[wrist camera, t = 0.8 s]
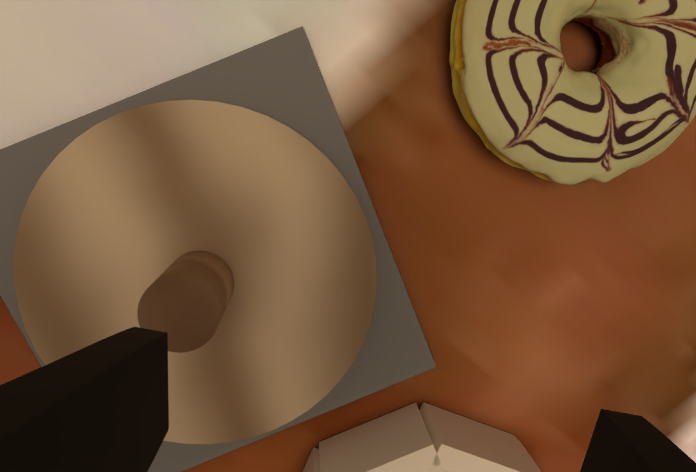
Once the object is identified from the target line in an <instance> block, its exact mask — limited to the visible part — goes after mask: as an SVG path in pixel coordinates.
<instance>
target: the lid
mask: <svg viewBox="0 0 696 472" xmlns="http://www.w3.org/2000/svg"><path fill="white" fill-rule="evenodd" d="M13 269H14V287H15V292H16V298H17V303H18V308H19V311H20V314H21V317H22V320H23V323H24V326H25V329H26V332H27V334H28V336H29V338H30V340H31V342H32V344H33V346H34V348H35V350H36V352H37V353H38V355H39V356H40V358H41V359H42V361H43V362H44V364H45V365H47V364H49V363H52V362H54V361H56V360H58V359H60V358H63V357H65V356H67V355H69V354H71V353H74V352H76V351H78V350H80V349H82V348H84V347H87V346H89V345H91V344H93V343H96V342H98V341H100V340H102V339H105V338H107V337H109V336H111V335H114V334H116V333H119V332H121V331H124V330H126V329H129V328H132V327H139V328H144V329H150V330H156V331H161V332H167V333H168V403H169V430H168V432H167V434H166V436H165V438H164V440H163V441H169V442H176V443H183V444H216V443H227V442H233V441H238V440H243V439H247V438H252V437H255V436H257V435H260V434H263V433H266V432H269V431H272V430H274V429H276V428H278V427H280V426H282V425H284V424H287V423H289V422H291V421H292V420H294V419H295V418H297V417H299V416H300V415H302V414H303V413H305V412H306V411H308V410H309V409H311V408H312V407H313V406H314V405H315V404H317V403H318V402H319V401H320V400H321V399H323V398H324V397H325V396H326V395H327V394H328V393H329V392H330V391H331V390H332V389H333V388H334V386H335V385H336V384H337V383H338V382H339V381H340V380H341V379H342V377H343V376H344V374H345V373H346V372H347V370H348V369H349V367H350V366H351V365H352V363H353V361H354V360H355V358H356V356H357V354H358V352H359V350H360V348H361V346H362V345H363V342H364V339H365V337H366V334H367V331H368V329H369V326H370V323H371V319H372V314H373V310H374V306H375V299H376V288H377V268H376V256H375V250H374V245H373V239H372V235H371V232H370V229H369V226H368V223H367V220H366V217H365V214H364V212H363V210H362V208H361V206H360V204H359V202H358V200H357V197H356V195H355V194H354V192H353V191H352V189H351V188H350V186H349V184H348V183H347V181H346V180H345V178H344V177H343V175H342V174H341V173H340V172H339V170H338V169H337V168H336V167H335V166H334V165H333V164H332V162H331V161H330V160H329V159H328V158H327V157H326V156H325V155H324V154H323V153H322V152H321V151H320V150H319V149H318V148H317V147H315V146H314V145H313V144H312V143H311V142H310V141H309V140H307V139H306V138H304V137H303V136H301V135H300V134H299V133H297V132H296V131H294V130H293V129H291V128H290V127H288V126H286V125H284V124H282V123H280V122H278V121H276V120H274V119H272V118H271V117H269V116H266V115H264V114H261V113H258V112H255V111H252V110H250V109H247V108H244V107H240V106H236V105H231V104H226V103H222V102H216V101H204V100H175V101H164V102H158V103H153V104H148V105H142V106H139V107H136V108H133V109H130V110H127V111H124V112H121V113H118V114H116V115H114V116H112V117H110V118H108V119H106V120H104V121H102V122H100V123H98V124H96V125H95V126H93V127H92V128H90V129H89V130H87V131H86V132H84V133H83V134H81V135H80V136H78V137H77V138H76V139H75V140H73V141H72V142H71V143H70V144H69V145H68V146H67V147H66V148H65V149H64V150H63V151H61V152H60V153H59V154H58V155H57V156H56V158H55V159H54V160H53V161H52V163H51V164H50V165H49V166H48V167H47V169H46V170H45V171H44V172H43V174H42V175H41V177H40V179H39V180H38V182H37V184H36V185H35V187H34V189H33V190H32V192H31V194H30V196H29V198H28V201H27V203H26V206H25V208H24V210H23V213H22V215H21V219H20V223H19V227H18V231H17V235H16V239H15V249H14V259H13Z"/></svg>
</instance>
